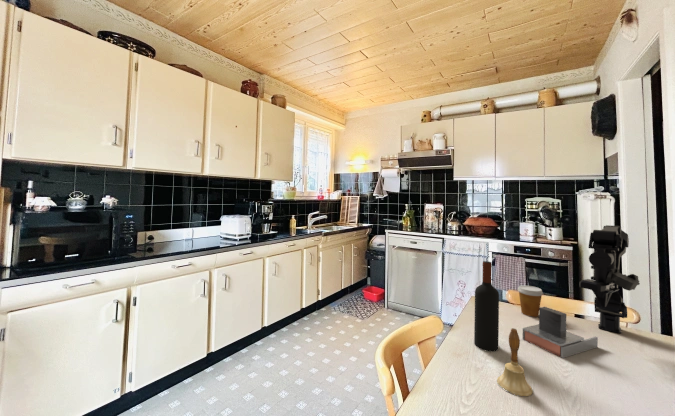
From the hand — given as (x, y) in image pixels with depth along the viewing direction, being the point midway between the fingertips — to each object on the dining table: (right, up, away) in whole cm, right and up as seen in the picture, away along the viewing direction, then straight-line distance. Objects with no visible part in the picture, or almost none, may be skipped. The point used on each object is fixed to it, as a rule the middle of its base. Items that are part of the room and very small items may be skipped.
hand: (603, 306), depth 99 cm
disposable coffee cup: (-10, -13, +25) cm, 30 cm away
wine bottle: (-45, -13, -3) cm, 47 cm away
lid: (-21, -9, -3) cm, 23 cm away
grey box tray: (-17, -13, -1) cm, 22 cm away
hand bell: (-49, -13, -25) cm, 57 cm away
